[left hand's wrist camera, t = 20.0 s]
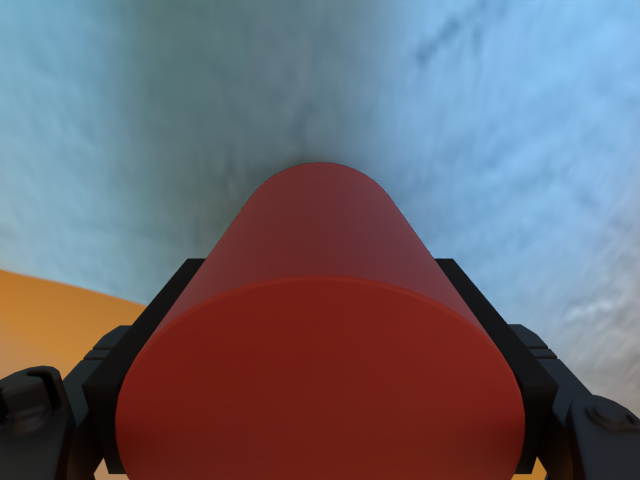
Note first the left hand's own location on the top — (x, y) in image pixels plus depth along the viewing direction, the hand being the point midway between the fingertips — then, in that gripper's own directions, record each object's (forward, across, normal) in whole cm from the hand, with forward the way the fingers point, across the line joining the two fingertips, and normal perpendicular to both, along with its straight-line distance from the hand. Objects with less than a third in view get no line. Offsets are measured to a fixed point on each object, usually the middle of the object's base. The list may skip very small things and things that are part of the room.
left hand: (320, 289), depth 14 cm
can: (+5, 0, 0) cm, 5 cm away
